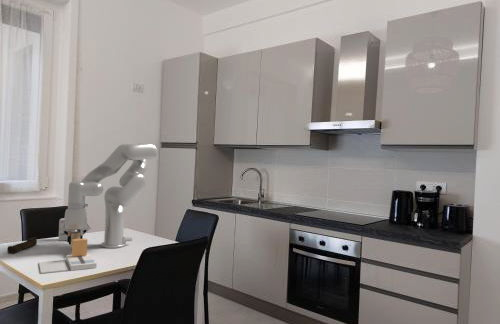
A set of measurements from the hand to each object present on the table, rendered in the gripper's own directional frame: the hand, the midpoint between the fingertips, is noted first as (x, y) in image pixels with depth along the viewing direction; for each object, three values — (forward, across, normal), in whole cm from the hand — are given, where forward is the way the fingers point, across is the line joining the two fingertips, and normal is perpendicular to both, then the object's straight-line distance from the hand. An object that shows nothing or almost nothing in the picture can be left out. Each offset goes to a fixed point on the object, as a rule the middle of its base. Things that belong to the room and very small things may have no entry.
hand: (74, 243), depth 187 cm
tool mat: (+4, +11, +23) cm, 26 cm away
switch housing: (+4, 0, +22) cm, 23 cm away
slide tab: (+2, 0, +16) cm, 17 cm away
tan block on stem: (+1, 0, +4) cm, 4 cm away
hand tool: (+5, +22, -14) cm, 26 cm away
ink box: (+4, 0, -29) cm, 29 cm away
